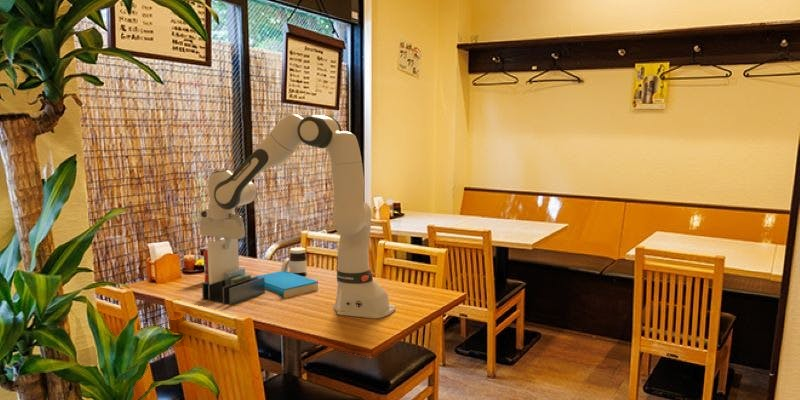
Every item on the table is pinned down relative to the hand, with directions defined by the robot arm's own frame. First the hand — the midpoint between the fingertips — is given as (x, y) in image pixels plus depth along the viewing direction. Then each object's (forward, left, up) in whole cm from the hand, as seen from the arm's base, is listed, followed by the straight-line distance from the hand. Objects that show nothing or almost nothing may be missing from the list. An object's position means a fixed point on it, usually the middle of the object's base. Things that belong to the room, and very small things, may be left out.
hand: (223, 248), depth 209 cm
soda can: (+19, -13, -19) cm, 30 cm away
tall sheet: (0, 0, -13) cm, 13 cm away
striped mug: (-1, -41, -19) cm, 45 cm away
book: (-11, -21, -20) cm, 31 cm away
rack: (-5, 0, -19) cm, 20 cm away
